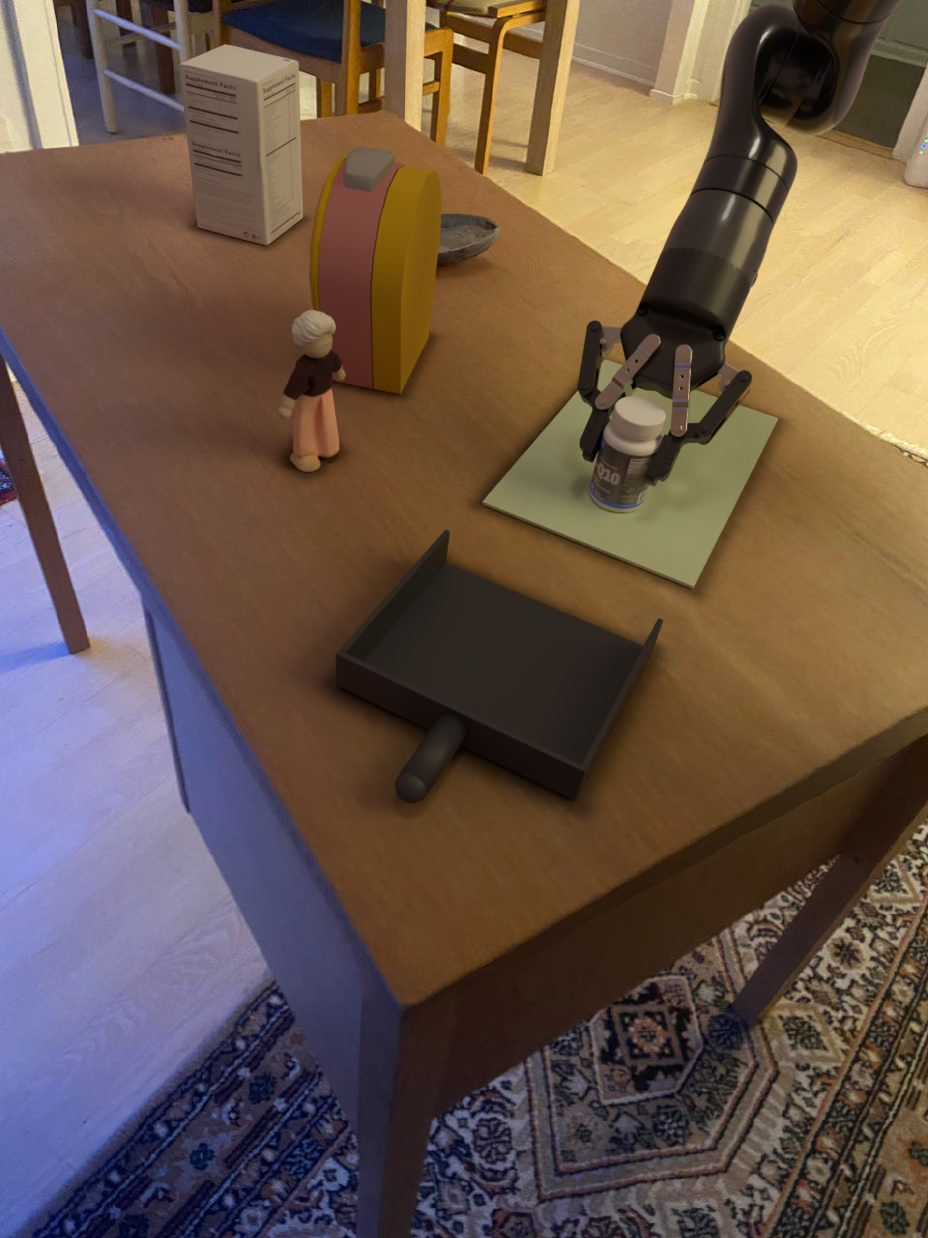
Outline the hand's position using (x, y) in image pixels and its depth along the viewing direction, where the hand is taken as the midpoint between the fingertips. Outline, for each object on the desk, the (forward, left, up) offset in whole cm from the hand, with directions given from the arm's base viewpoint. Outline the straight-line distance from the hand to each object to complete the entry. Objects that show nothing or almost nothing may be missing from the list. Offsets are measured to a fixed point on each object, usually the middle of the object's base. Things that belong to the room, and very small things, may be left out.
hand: (619, 470), depth 71 cm
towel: (-8, -4, -4) cm, 10 cm away
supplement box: (-1, -61, -4) cm, 62 cm away
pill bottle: (-2, -1, -4) cm, 4 cm away
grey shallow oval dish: (-14, -45, -4) cm, 48 cm away
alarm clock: (+3, -29, -4) cm, 30 cm away
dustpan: (+21, +10, -4) cm, 24 cm away
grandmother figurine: (+16, -18, -4) cm, 25 cm away
